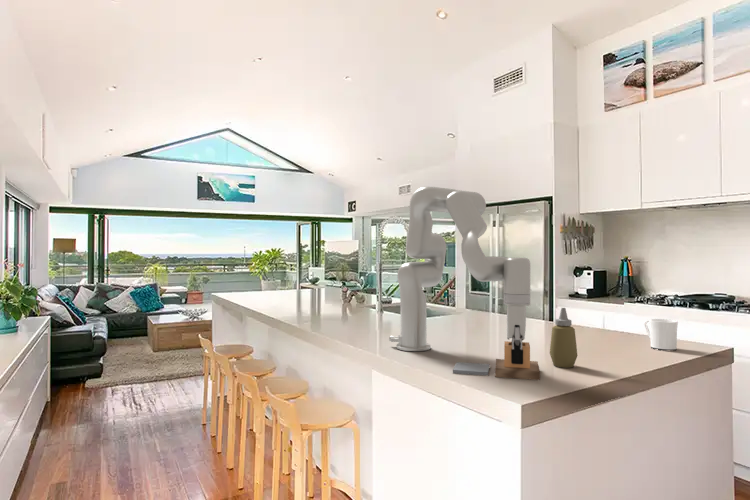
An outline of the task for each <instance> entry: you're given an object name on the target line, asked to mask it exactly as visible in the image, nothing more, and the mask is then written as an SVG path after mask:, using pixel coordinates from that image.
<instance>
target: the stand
mask: <svg viewBox="0 0 750 500" xmlns="http://www.w3.org/2000/svg"><path fill="white" fill-rule="evenodd" d="M494 371H495V372H494V373H495V374H494V377H495V378H502V377H503V378H504V379H505V378H506V379H519V380H520V379H521V380H535V381H540V380H541V369H540V365H539V361H536V360H530V368H517V367H504V359H503V358H496V360H495V367H494ZM503 378H502V379H503Z"/></svg>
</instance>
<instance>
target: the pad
mask: <svg viewBox="0 0 750 500" xmlns="http://www.w3.org/2000/svg"><path fill="white" fill-rule="evenodd" d="M490 365H491V364H489V363H479V362H478V363H477V362H475V363H474V362H460V361H456V363H455V365H454V367H453V369H452V374H459V375H471V376H472V375H473V376H475V375H476V376H486V375H488V376H489V373H490V372H489V371H490V368H489V367H490Z"/></svg>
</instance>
